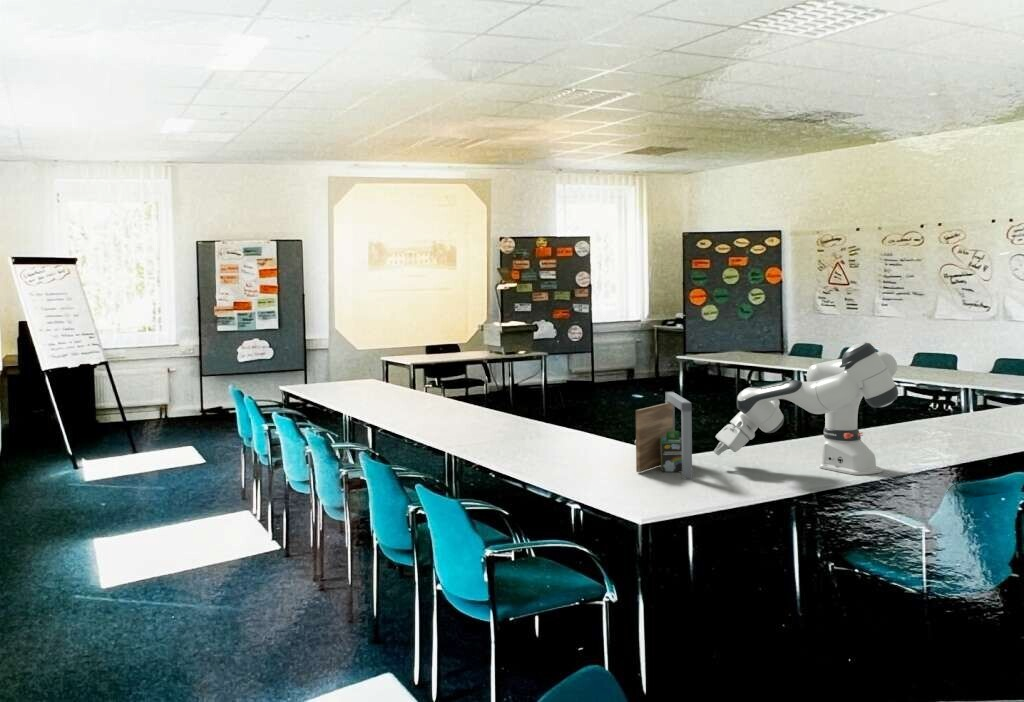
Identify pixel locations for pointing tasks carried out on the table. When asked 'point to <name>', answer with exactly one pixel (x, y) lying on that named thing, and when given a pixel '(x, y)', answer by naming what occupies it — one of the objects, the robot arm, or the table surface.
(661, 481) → the table surface
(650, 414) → the door
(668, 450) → the chalk box
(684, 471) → the door frame
